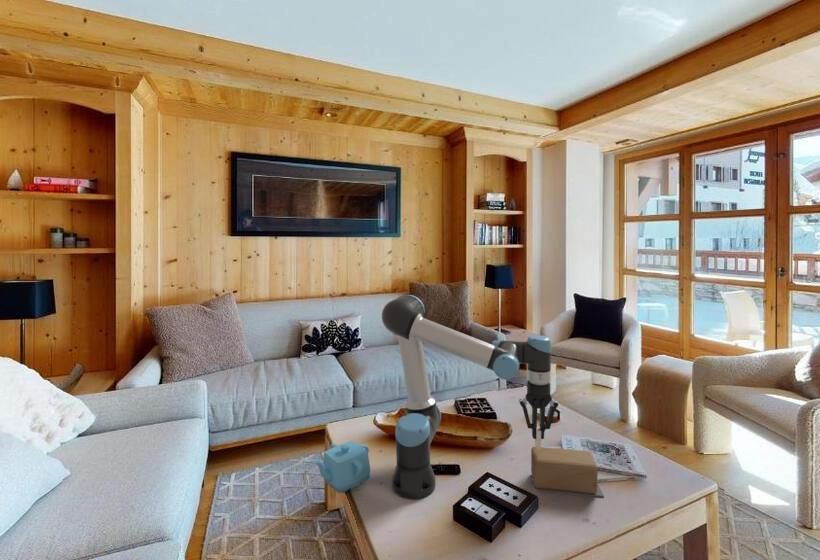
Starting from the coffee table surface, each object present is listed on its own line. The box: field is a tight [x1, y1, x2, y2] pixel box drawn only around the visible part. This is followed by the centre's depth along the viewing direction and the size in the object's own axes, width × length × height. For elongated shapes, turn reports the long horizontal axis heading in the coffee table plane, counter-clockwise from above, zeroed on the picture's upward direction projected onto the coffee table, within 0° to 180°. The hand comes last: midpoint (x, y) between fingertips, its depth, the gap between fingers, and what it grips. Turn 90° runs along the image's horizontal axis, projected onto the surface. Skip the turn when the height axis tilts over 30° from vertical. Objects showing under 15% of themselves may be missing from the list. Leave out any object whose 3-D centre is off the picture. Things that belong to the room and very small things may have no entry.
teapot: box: [311, 440, 371, 494], centre depth 136 cm, size 18×16×14 cm
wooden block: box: [530, 446, 599, 494], centre depth 133 cm, size 10×10×20 cm
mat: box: [538, 483, 605, 498], centre depth 135 cm, size 20×15×1 cm
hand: (537, 447), depth 134 cm, fingers closed
